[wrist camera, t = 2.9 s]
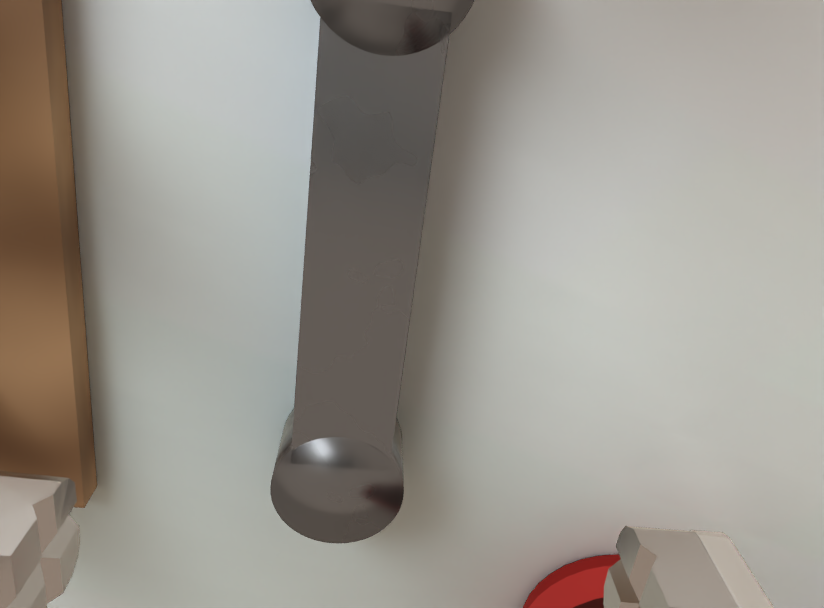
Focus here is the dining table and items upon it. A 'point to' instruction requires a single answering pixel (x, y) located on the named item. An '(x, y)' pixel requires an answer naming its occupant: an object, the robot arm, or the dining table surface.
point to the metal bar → (361, 261)
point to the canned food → (574, 585)
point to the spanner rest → (40, 258)
